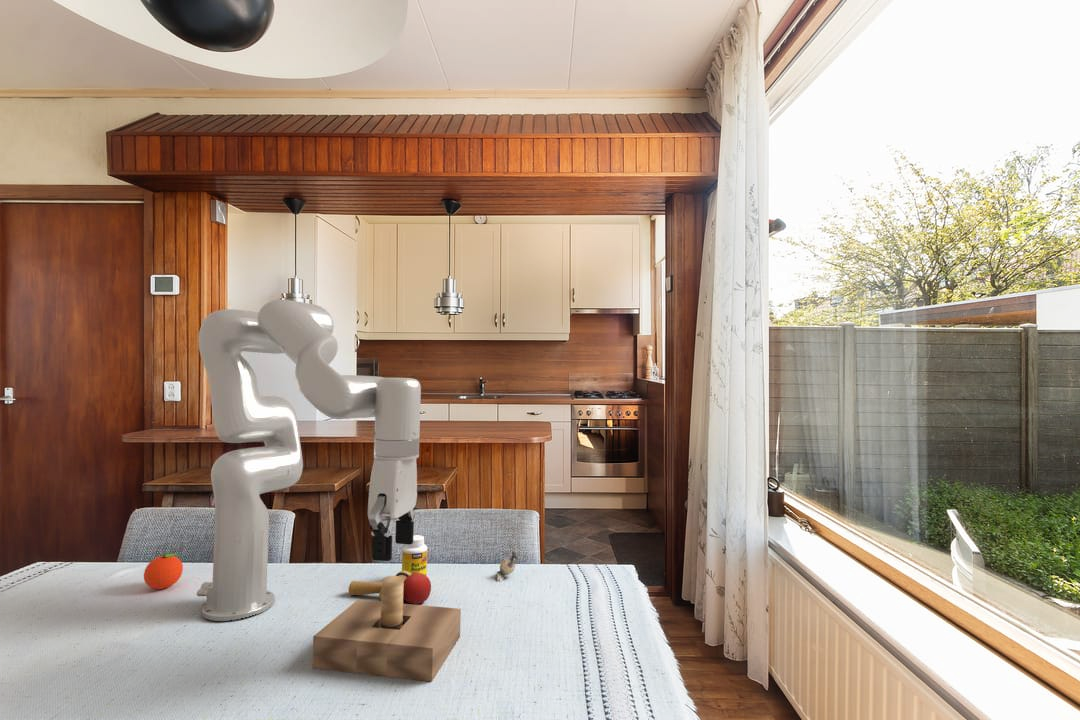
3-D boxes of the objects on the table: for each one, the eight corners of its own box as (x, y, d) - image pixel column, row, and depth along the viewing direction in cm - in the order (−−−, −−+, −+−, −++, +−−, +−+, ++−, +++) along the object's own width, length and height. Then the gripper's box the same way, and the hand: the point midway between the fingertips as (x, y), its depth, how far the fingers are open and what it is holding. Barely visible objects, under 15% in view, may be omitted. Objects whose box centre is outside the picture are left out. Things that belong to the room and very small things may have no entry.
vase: (518, 572, 124) (519, 548, 124) (520, 583, 119) (521, 557, 119) (496, 573, 124) (497, 548, 123) (497, 583, 118) (498, 558, 118)
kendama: (340, 611, 105) (421, 607, 102) (341, 578, 107) (420, 573, 103) (361, 602, 112) (437, 599, 109) (361, 571, 114) (436, 567, 110)
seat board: (312, 668, 82) (313, 636, 82) (356, 626, 95) (357, 599, 96) (431, 681, 78) (432, 648, 79) (460, 637, 92) (460, 608, 93)
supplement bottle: (409, 589, 113) (410, 542, 113) (396, 582, 117) (398, 537, 117) (431, 583, 117) (432, 537, 117) (418, 576, 121) (419, 532, 121)
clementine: (172, 578, 117) (174, 546, 117) (194, 582, 115) (195, 550, 115) (134, 591, 109) (136, 557, 110) (157, 596, 107) (159, 562, 107)
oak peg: (375, 656, 85) (377, 583, 86) (385, 644, 89) (387, 574, 90) (396, 658, 85) (398, 585, 85) (405, 647, 89) (407, 576, 89)
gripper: (397, 442, 98) (394, 535, 97) (350, 454, 80) (346, 567, 80) (435, 443, 96) (432, 537, 96) (395, 456, 79) (391, 571, 79)
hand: (393, 550), depth 88 cm, fingers open, 8 cm apart
